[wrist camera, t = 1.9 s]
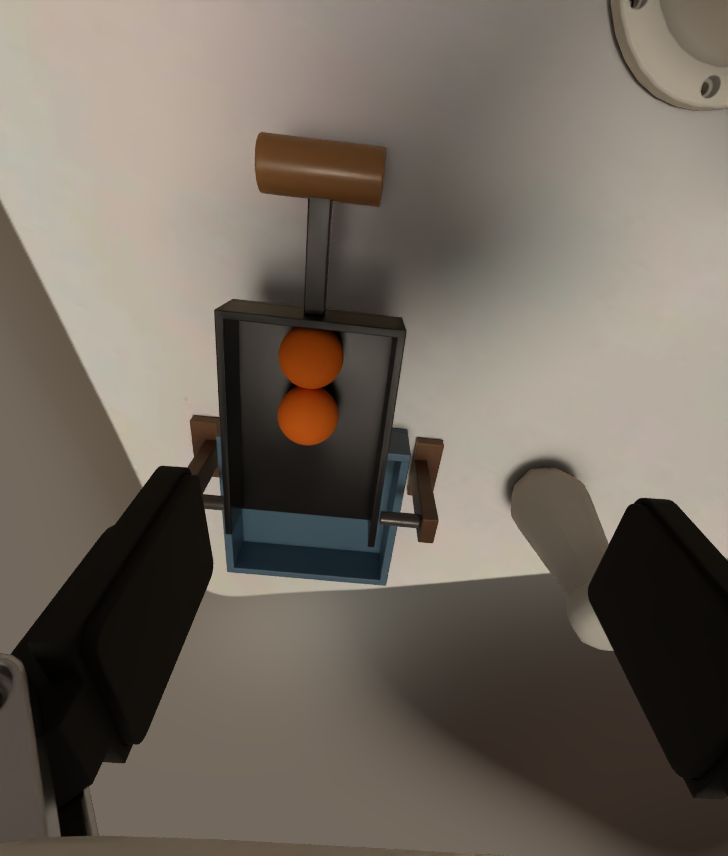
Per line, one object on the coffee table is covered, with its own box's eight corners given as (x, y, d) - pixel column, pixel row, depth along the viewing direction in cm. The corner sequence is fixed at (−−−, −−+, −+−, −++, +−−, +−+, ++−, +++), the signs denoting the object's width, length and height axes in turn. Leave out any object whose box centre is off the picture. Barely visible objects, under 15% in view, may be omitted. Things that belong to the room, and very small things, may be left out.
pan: (227, 133, 19) (204, 119, 16) (425, 157, 19) (434, 148, 17) (238, 504, 28) (224, 534, 25) (373, 517, 28) (374, 547, 25)
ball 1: (286, 325, 23) (275, 314, 19) (347, 331, 23) (346, 322, 20) (281, 386, 23) (270, 384, 20) (341, 392, 23) (339, 392, 20)
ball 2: (285, 395, 25) (278, 371, 22) (341, 401, 25) (342, 378, 22) (277, 449, 24) (268, 431, 21) (335, 454, 24) (335, 438, 21)
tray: (230, 411, 32) (215, 436, 29) (407, 429, 32) (411, 455, 29) (238, 541, 38) (227, 572, 35) (385, 554, 39) (386, 586, 36)
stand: (193, 415, 32) (148, 474, 25) (442, 439, 32) (459, 503, 26) (199, 469, 34) (159, 535, 28) (430, 491, 35) (443, 561, 29)
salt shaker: (488, 495, 35) (542, 643, 24) (537, 445, 33) (623, 585, 21) (541, 523, 37) (616, 677, 25) (592, 478, 34) (700, 625, 23)
